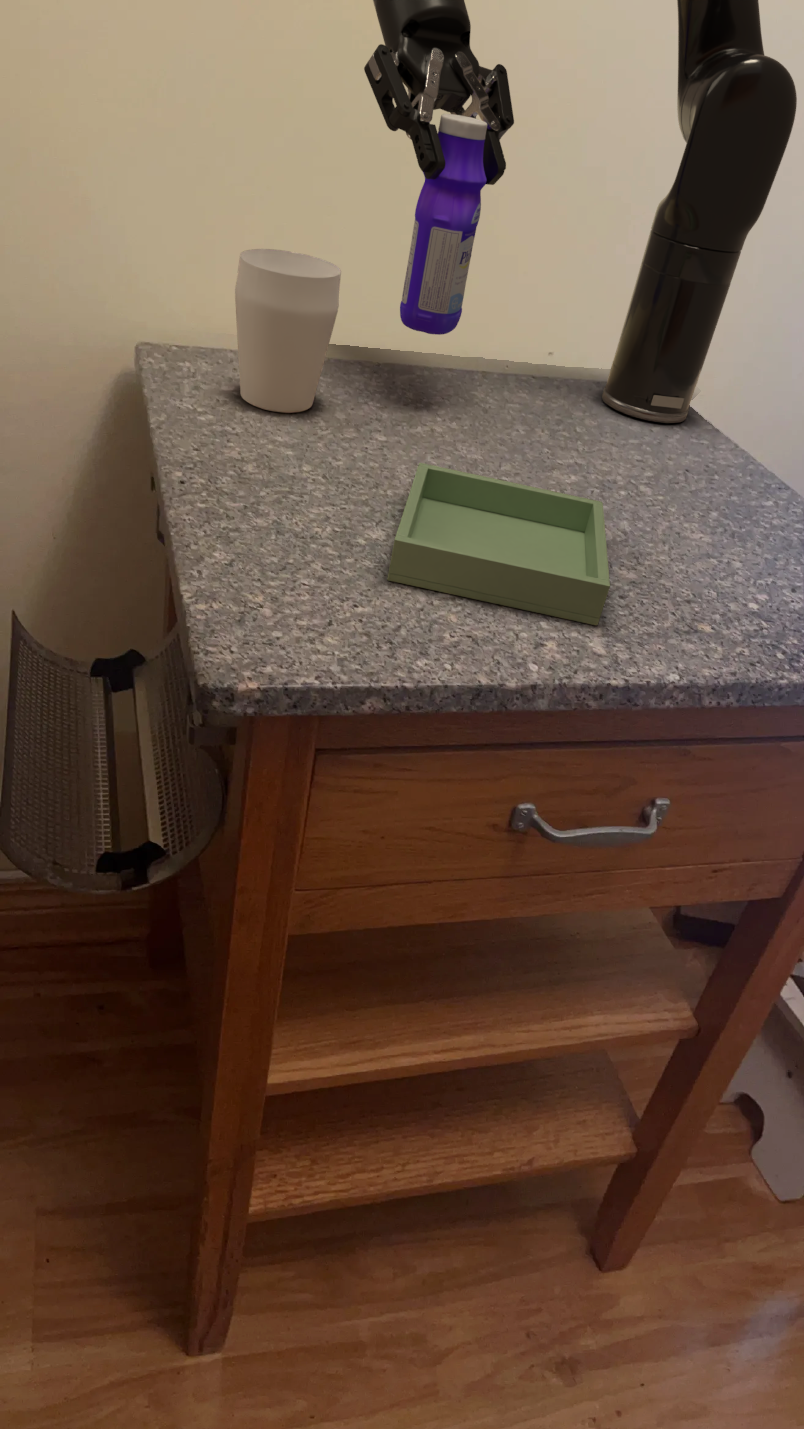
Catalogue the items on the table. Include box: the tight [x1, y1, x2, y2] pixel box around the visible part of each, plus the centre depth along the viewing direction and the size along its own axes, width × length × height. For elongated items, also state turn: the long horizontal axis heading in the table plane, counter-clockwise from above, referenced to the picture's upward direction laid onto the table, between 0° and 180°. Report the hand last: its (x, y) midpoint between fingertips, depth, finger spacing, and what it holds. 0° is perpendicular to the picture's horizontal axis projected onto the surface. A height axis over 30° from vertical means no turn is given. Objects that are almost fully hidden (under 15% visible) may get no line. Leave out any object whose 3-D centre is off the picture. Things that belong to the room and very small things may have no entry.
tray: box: [386, 462, 611, 626], centre depth 75 cm, size 15×15×3 cm
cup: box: [234, 248, 342, 414], centre depth 92 cm, size 9×9×12 cm
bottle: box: [399, 113, 487, 336], centre depth 93 cm, size 7×6×17 cm
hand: (466, 176), depth 89 cm, fingers closed on bottle, 5 cm apart
